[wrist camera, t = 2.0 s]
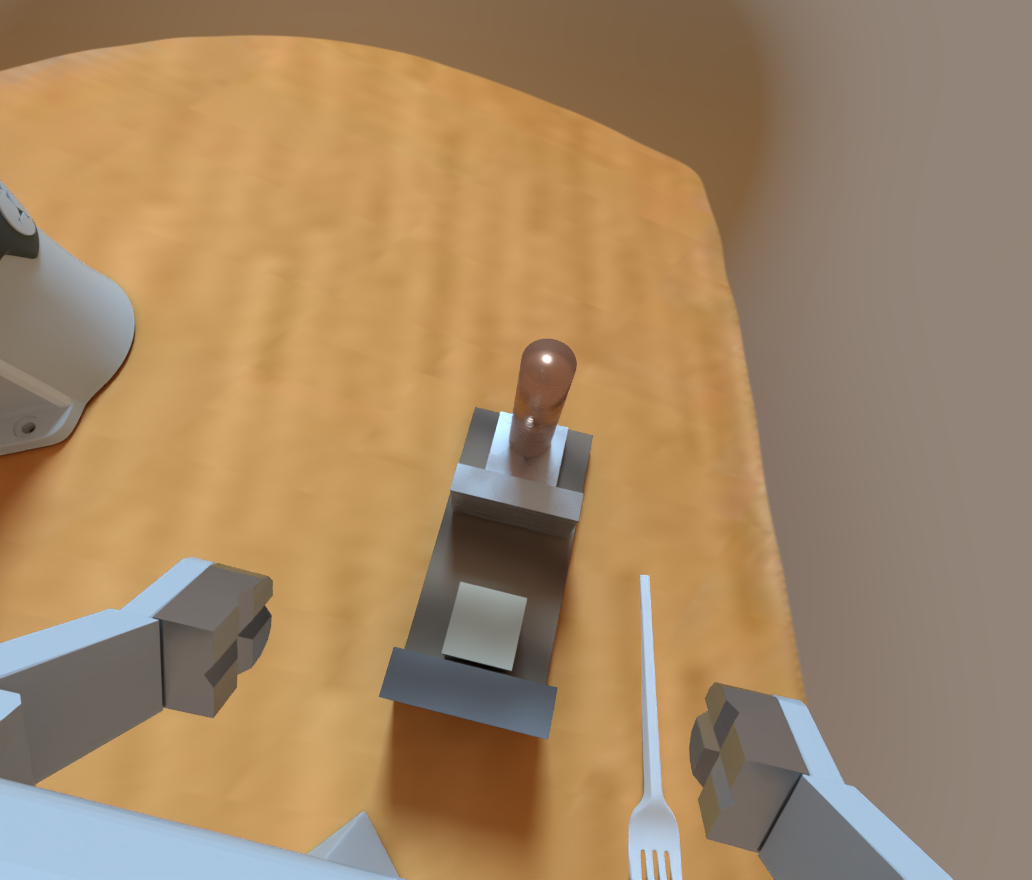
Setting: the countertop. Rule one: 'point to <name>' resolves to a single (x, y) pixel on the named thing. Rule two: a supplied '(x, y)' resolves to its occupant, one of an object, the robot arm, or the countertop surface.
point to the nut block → (484, 627)
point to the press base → (498, 566)
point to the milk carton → (357, 847)
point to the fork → (651, 773)
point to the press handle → (527, 452)
